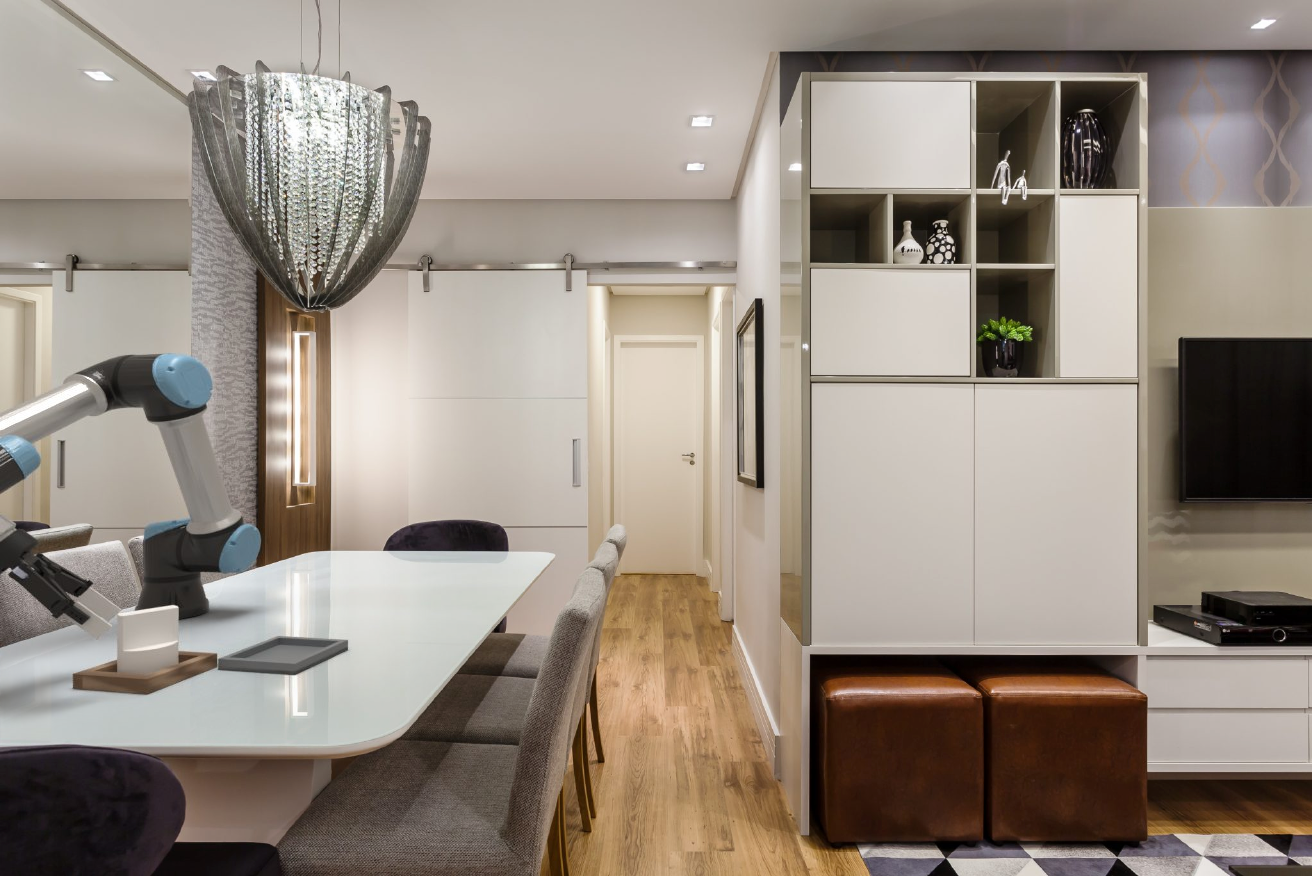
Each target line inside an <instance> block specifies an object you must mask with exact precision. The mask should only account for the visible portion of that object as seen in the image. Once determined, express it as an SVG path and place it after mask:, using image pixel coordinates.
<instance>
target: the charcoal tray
mask: <svg viewBox="0 0 1312 876" xmlns="http://www.w3.org/2000/svg"><path fill="white" fill-rule="evenodd" d="M348 650H349V639H343V638H342V639H340V638H339V639H337V638H326V637H325V638H322V637H308V636H307V637H306V636H305V637H304V636H287V635H286V636H285V635H277V636H274V637H272V638H270V639H267V640H264V641H260V642H259V643H257V644H254V645H253V644H252V645H251V646H248V647H245V648H243V649H240V650H238V651H235V652H233V653H229V654H227V655H225V656H222V657H220V658H217V670H221V671H232V672H248V673H251V672H252V673H262V674H280V675H290V676H291V675H292V676H293V675H294V676H295V675H297V674H299V673H302V672H304V671H306V670H308V669H310V668H312V667H314V666H317V665H318V664H320V663H323V662H325V661H327V660H329V659H332V658H333V657H335V656H337V655H340V654H342V653H345V652H347V651H348Z"/></svg>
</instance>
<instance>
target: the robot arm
mask: <svg viewBox="0 0 1312 876" xmlns="http://www.w3.org/2000/svg"><path fill="white" fill-rule="evenodd" d="M213 385H214V384H213V379H212V376H211V374H210V372H209V370H208V369H207V367H206V366H205V365H204V364H203V363H202V362H201V361H200V360H199V359H196V358H195V357H193V356H191V355H187V354H177V353H155V354H154V353H152V354H151V353H150V354H125V355H119V356H115V357H112V358H109V359H105V360H103V361H101V362H98V363H96V364H93V365H91V366H88V367H86V368H85V369H82V370H79V371H77V372H75V373H73V374H71V375H69V376H67V377H66V378H65V379H64V380H63V383H62V384H61V385H59V386H57V387H54V388H53V389H50V390H48V391H46V392H44V393H41V394H39V395H37V396H34V397H33V398H30V399H28V400H26V401H23V402H21V403H19V404H17V405H15V406H13V407H10V408H9V409H7V410H4V411H2V412H0V495H2V494H3V493H5V492H6V491H8V490H9V489H10V488H12V487H14V486H15V485H16V484H17V485H18V483H20V482H21V481H24V480H26V479H27V477H29V475H31V474H32V473H33V472H34V471H36V470H37V469H39V468H40V465H41V462H42V458H41V455H40V453H39V452H38V450H37V449H36V447H35V446H34V445H33V444H34V443H36V442H39V441H40V440H42V439H45V438H46V437H48V436H50V435H52V434H54V433H56V432H59V431H60V430H62V429H64V428H66V427H68V426H70V425H73V424H74V423H76V422H77V421H79V420H82V419H84V418H86V417H87V416H90V417H99V416H100V415H103V414H105V413H107V412H109V411H112V410H118V409H129V408H135V409H137V408H139V409H141V408H142V409H143V412H144V415H145V418H146V420H147V422H148V423H150V424H152V425H155V426H157V427H158V430H159V432H160V435H161V438H162V442H163V444H164V448H165V450H166V452H167V456H168V458H169V461H170V464H171V467H172V469H173V472H174V475H175V478H176V481H177V485H178V486H179V490H180V493H181V495H182V498H183V501H184V503H185V507H186V509H187V513H188V515H189V518H182V519H172V520H166V521H157V522H152V523H151V522H150V523H149V524H146V526H145V528H144V530H143V539H142V550H143V551H142V555H143V556H142V558H143V559H142V561H143V563H142V564H143V586H142V589H141V591H140V595H139V598H138V602H137V605H135V607H134V611H138V610H144V609H151V608H157V607H164V606H171V605H175V606H178V607H179V618H178V620H181V619H188V618H191V617H197V616H200V615H203V614H205V613H208V612H209V611H210V601H209V599H208V598H207V596H206V592H205V588H204V586H203V583H202V578H201V577H202V575H201V574H202V573H214V574H216V573H217V574H218V573H220V574H221V573H222V574H223V575H228V574H237V573H238V574H239V573H243V572H245V571H246V570H248V569H249V568H250V567H251V566H252V565H254V563H255V561H256V560H257V557H258V555H259V552H260V549H261V543H262V538H261V533H260V531H259V529H258V528H257V527H256V526H254V525H253V524H250V523H249V524H248V523H245V521H244V517H243V514H242V512H241V511H240V510H239V509H236V508H233V507H232V504H231V501H230V498H229V494H228V492H227V489H226V485H225V483H224V480H223V477H222V474H221V470H220V467H219V464H218V460H217V458H216V455H215V452H214V449H213V446H212V442H211V439H210V436H209V433H208V431H207V428H206V424H205V420H204V419H203V417H204V414H205V413H206V411H207V410H208V405H207V403H208V402H209V400H211V397H212V395H213V393H212V391H213V388H214V387H213ZM16 526H17V523H16V522H14V521H13V520H11V518H9V517H7V516H6V515H4V514H3V513H2V512H0V575H2V574H4V573H5V572H6V571H8V570H9V569H10V570H11V571H10V572H9V573H8V577H9V578H11V579H12V580H13V581H15V582H16V583H18V584H19V585H20V586H21V587H22V588H23V589H24V590H26V591H27V592H28V593H29V594H30V595H32V597H33V598H35V599H36V600H37V601H38V602H39V603H41V605H43V607H45V609H47V610H48V611H49V612H50V613H51V616H52V617H53V618H55V619H60V617H64V618H66V619H67V620H68V621H70V622H71V623H72V624H74V626H75V625H76V626H77V627H78V628H80V629H81V630H83V631H84V632H86V633H87V634H89V636H91V637H92V638H94V639H96V640H99V639H100V638H101V637H102V636H103V635H105V633H107V632H108V631H109V630H110V629H111V628H112V627H113V625H112V624H111V623H109V622H110V621H111V620H112V619H114V618H115V617H116V616H117V614H118V613H120V612H121V611H122V608H120V607H119V606H118V605H116V604H115V603H113V602H112V601H110V600H109V599H108V598H107V597H105V596H104V595H103V594H101V593H99V592H98V591H97V590H96V589H94V588H93V587H92V586H93V585H94V582H93V581H91V579H88V580H86V579H85V578H83V577H81V576H79V575H77V574H76V573H75V572H72V571H71V570H69V569H67V568H65V567H64V566H62V565H60V564H58V563H57V562H56V561H53V560H52V559H50V558H48V557H47V556H46V555H44V554H43V553H41V552H37V553H36V554H33V553H32V552H31V551H32V550H33V549H35V548H36V547H37V546H38V545H39V540H38V539H37V538H36V537H34V536H33V535H32V534H30V533H29V532H27V531H26V530H25V529H23V528H18V529H17V528H16ZM70 595H71V596H74V597H75V598H76V602H75V600H74V599H72V597H71V596H70Z"/></svg>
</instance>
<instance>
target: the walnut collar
mask: <svg viewBox="0 0 1312 876" xmlns="http://www.w3.org/2000/svg"><path fill="white" fill-rule="evenodd" d="M216 668H218V653H217V652H200V651H189V650H188V651H184V650H178V664H176V665H173V666H170V667H168V668H165V669H162V670H160V671H157V672H154V673H151V674H149V675H144V674H130V673H117V659H114V660H111V661H108V662H104V663H102V664H98V665H95V666H92V667H90V668H87V669H84V670H81V671H78V672H74V673H73V674H72V689H75V690H88V691H89V690H90V691H101V692H113V693H115V692H116V693H126V694H127V693H128V694H141V695H142V694H143V695H149V694H152V693H154V692H157V691H160V690H162V689H164V688H167V687H169V686H172V685H174V684H177V683H180V682H183V681H184V680H187V679H190V678H193V677H196V676H197V675H200V674H203V673H205V672H208V671H210V670H212V669H216Z"/></svg>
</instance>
